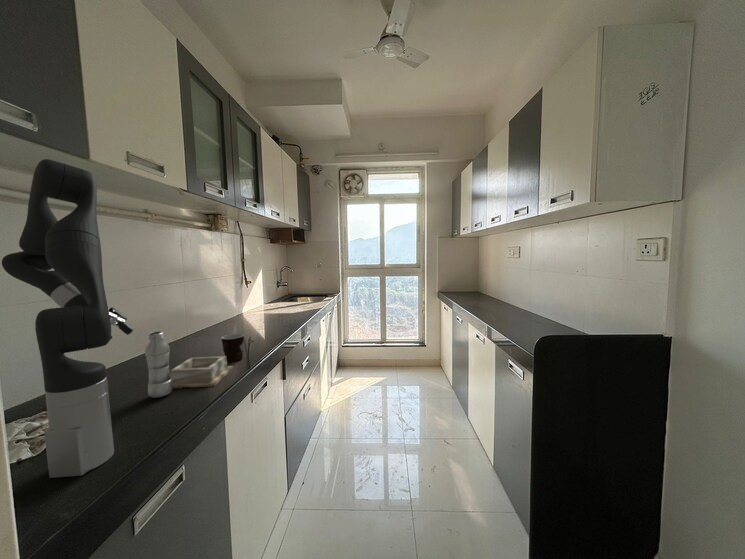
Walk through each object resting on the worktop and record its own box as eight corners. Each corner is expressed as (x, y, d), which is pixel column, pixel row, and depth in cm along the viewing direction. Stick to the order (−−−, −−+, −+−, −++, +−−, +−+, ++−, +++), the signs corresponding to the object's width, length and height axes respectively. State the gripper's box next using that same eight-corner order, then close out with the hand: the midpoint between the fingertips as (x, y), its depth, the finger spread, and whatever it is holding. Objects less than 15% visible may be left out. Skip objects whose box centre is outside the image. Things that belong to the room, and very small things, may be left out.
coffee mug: (235, 355, 132) (234, 332, 132) (249, 357, 129) (248, 334, 128) (211, 364, 122) (209, 339, 121) (226, 367, 118) (224, 342, 117)
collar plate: (214, 386, 101) (213, 370, 100) (164, 388, 99) (162, 372, 99) (232, 368, 117) (231, 354, 116) (189, 370, 115) (188, 356, 115)
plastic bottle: (144, 402, 91) (138, 336, 89) (153, 392, 97) (148, 331, 95) (168, 398, 92) (163, 334, 91) (176, 389, 99) (171, 329, 97)
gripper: (63, 294, 83) (111, 333, 85) (104, 288, 98) (144, 322, 99) (44, 313, 83) (92, 352, 85) (88, 305, 98) (129, 338, 99)
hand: (120, 336), depth 92 cm, fingers open, 8 cm apart
